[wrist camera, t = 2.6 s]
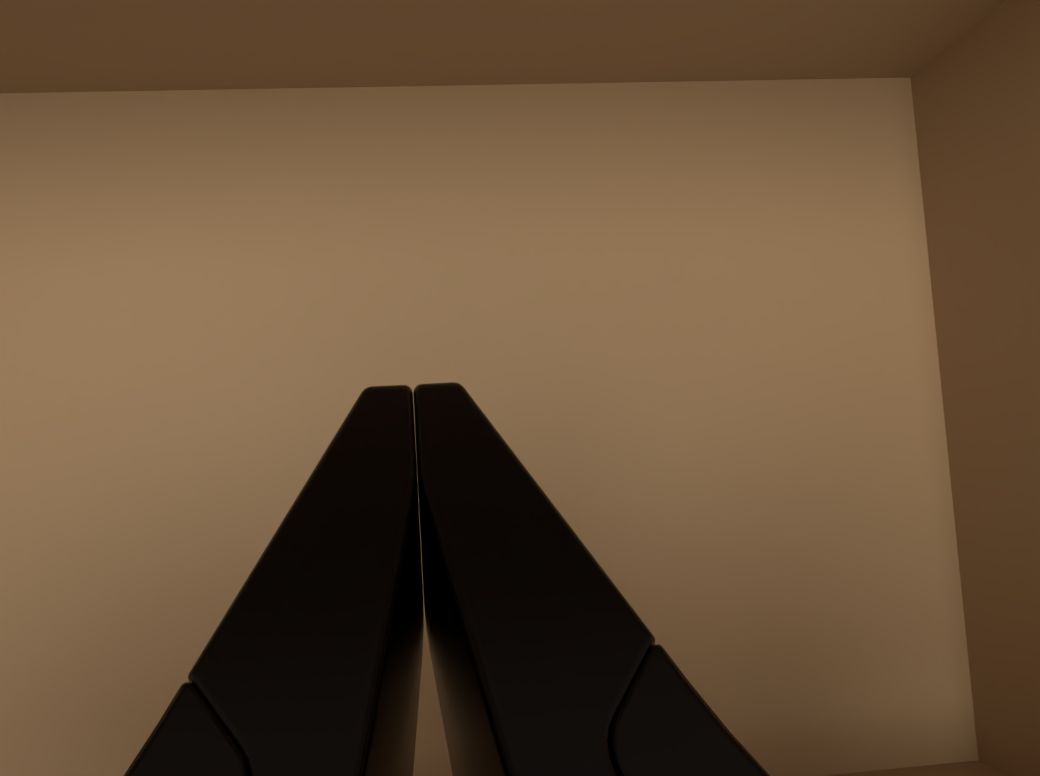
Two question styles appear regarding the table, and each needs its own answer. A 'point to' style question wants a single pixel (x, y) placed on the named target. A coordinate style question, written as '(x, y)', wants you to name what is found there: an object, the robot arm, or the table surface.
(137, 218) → the carton
